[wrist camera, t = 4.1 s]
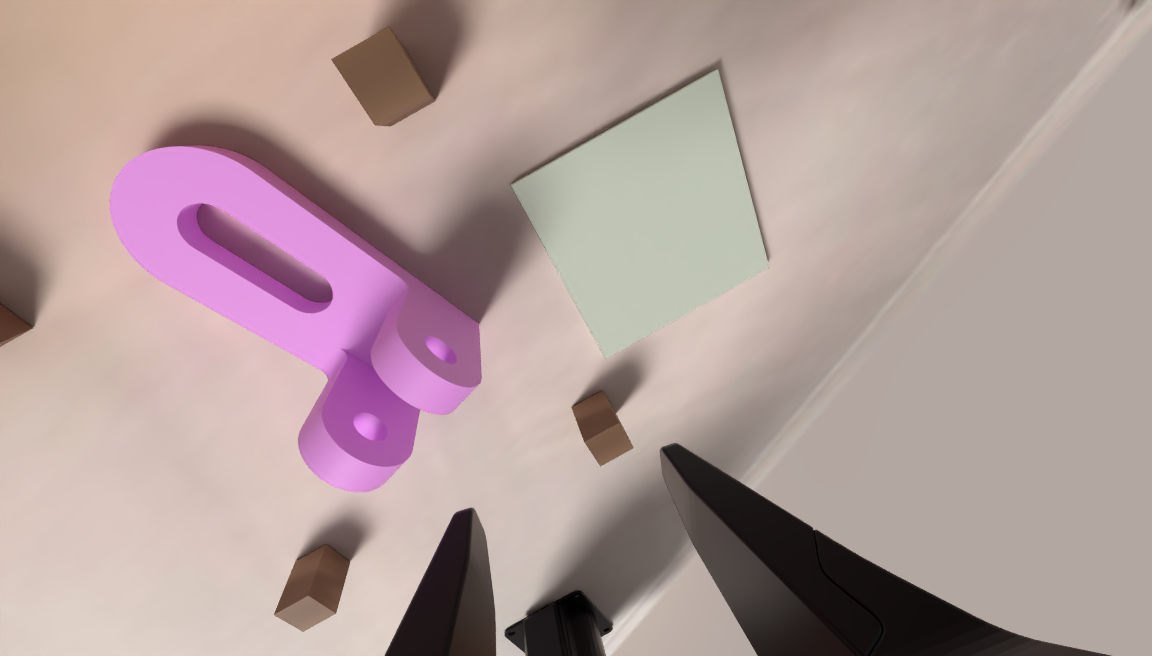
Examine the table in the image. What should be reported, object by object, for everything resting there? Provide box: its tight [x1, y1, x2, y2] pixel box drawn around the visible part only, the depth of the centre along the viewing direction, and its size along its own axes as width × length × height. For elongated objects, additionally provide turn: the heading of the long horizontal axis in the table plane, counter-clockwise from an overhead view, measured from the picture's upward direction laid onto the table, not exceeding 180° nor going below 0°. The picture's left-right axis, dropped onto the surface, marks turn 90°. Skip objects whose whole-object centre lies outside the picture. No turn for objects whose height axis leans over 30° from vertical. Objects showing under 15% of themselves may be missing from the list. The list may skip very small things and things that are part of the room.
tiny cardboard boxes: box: [0, 27, 633, 632], centre depth 19 cm, size 20×20×3 cm
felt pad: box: [510, 69, 769, 359], centre depth 20 cm, size 10×10×1 cm
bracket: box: [110, 145, 482, 492], centre depth 15 cm, size 13×6×7 cm, turn 45°
